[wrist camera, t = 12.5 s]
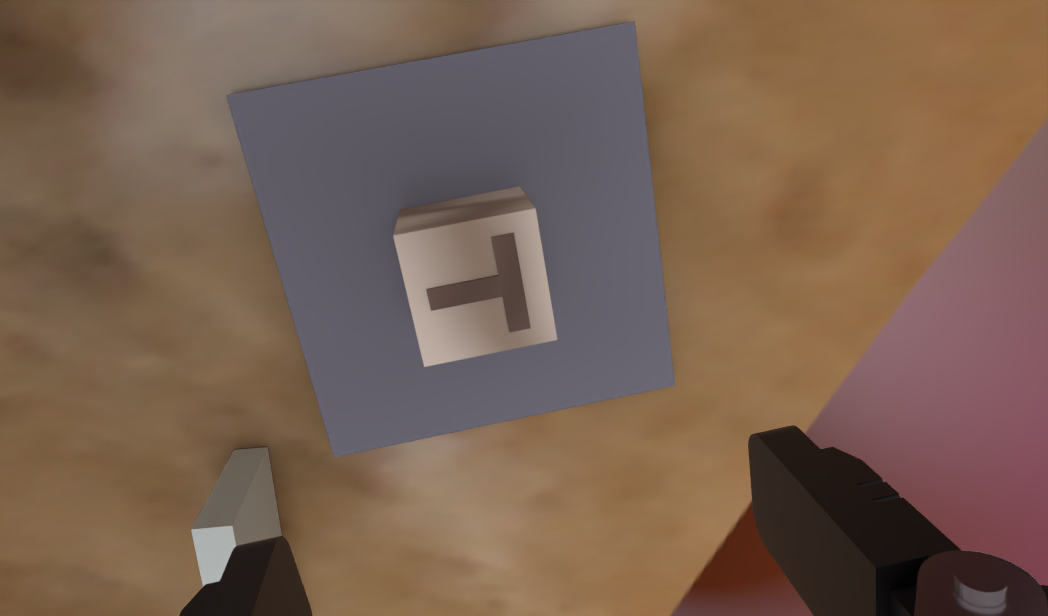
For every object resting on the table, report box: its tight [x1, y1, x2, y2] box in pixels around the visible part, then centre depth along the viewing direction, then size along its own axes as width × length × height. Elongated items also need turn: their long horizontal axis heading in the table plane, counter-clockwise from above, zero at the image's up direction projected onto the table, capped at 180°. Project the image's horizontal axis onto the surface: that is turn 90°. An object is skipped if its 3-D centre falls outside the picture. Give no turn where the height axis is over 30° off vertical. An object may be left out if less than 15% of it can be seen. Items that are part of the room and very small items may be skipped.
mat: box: [226, 21, 675, 457], centre depth 30 cm, size 16×16×1 cm
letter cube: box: [393, 186, 557, 367], centre depth 28 cm, size 5×5×5 cm
